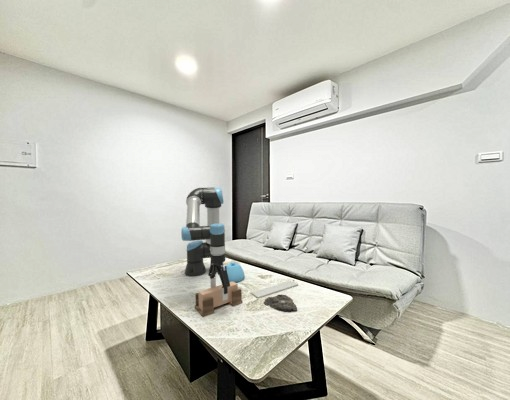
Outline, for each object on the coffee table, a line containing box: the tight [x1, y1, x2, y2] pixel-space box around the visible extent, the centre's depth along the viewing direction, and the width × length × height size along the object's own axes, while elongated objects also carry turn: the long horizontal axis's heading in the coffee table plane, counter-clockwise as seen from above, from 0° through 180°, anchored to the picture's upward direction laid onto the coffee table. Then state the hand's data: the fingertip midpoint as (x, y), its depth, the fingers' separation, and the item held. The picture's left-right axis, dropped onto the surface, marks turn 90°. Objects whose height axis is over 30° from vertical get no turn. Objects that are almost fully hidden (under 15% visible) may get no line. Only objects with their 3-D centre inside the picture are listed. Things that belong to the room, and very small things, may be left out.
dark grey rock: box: [263, 294, 298, 313], centre depth 112 cm, size 19×4×15 cm
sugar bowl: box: [225, 261, 245, 283], centre depth 148 cm, size 15×15×12 cm
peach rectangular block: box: [197, 281, 239, 311], centre depth 112 cm, size 5×20×8 cm, turn 128°
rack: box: [194, 288, 244, 318], centre depth 112 cm, size 10×22×7 cm, turn 126°
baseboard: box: [249, 278, 299, 300], centre depth 131 cm, size 30×3×10 cm
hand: (218, 294), depth 112 cm, fingers open, 13 cm apart
